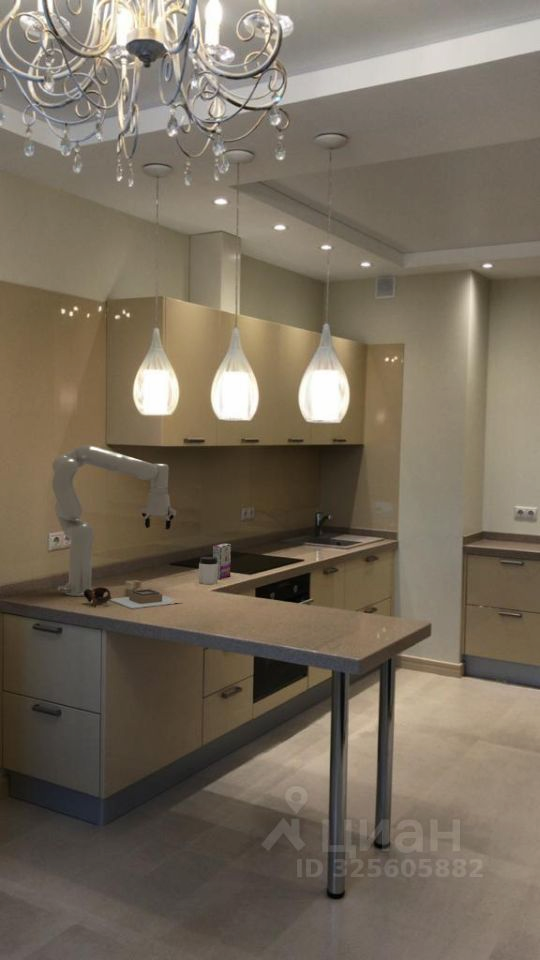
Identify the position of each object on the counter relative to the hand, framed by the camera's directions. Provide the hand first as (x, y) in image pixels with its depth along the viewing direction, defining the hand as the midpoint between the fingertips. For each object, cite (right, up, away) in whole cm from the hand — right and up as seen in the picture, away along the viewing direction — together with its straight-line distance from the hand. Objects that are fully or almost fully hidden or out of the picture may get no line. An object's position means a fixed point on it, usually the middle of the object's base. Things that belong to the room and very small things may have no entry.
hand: (157, 528), depth 382 cm
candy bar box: (+27, -27, +37) cm, 53 cm away
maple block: (-9, -28, -15) cm, 33 cm away
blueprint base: (-1, -29, -29) cm, 41 cm away
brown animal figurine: (-20, -29, -38) cm, 52 cm away
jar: (+21, -28, +21) cm, 41 cm away
